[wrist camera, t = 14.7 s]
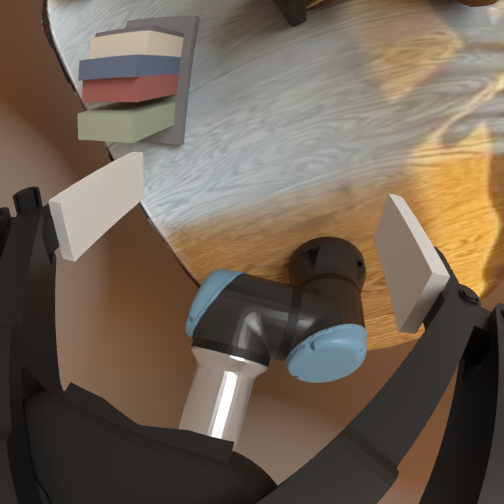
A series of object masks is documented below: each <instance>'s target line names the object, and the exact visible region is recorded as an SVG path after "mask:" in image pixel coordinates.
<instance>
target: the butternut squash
mask: <svg viewBox="0 0 504 504" xmlns="http://www.w3.org/2000/svg"><path fill="white" fill-rule="evenodd" d="M456 1H458V2H460V3H462V4H465V5H468V6H469V7H479V6H487V5H491V4H494V3H496V2H497V1H498V0H456Z"/></svg>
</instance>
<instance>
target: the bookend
mask: <svg viewBox="0 0 504 504" xmlns="http://www.w3.org/2000/svg"><path fill="white" fill-rule="evenodd" d="M273 1H274V2H275V3H276V5H277V6H278V7H279V9H280V10H281V12H282V13H283V15H284V17H285V18H286V20H287V21H288V23H289V24H290V25H291V26H297V25H299V24H302V23H304V22H305V21H306V10H309V9H312V8H315V7H318V6H321V5H324V4H327V3H330V2H333V1H335V0H273Z"/></svg>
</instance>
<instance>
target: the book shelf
mask: <svg viewBox="0 0 504 504" xmlns="http://www.w3.org/2000/svg"><path fill="white" fill-rule="evenodd" d="M198 22H199V17H197V16H177V17H161V18H149V19H140V20H132V21H127V28H126V29H119V30H113V31H106V32H101V33H96V37H94V38H91V43H90V52H89V59H88V60H82V61H80V64H79V80H83V91H82V103H84V102H141V101H159V102H175V103H176V105H175V116H174V125H173V126H170V127H168V128H166V129H163V130H161V131H159V132H157V133H154V134H152V135H150V136H148V137H145V138H143V139H141V140H139V141H147V142H156V143H164V144H172V145H182V144H184V133H185V122H186V111H187V101H188V92H189V84H190V76H191V68H192V61H193V54H194V47H195V40H196V34H197V28H198ZM79 80H78V81H79Z"/></svg>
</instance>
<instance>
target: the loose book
mask: <svg viewBox="0 0 504 504" xmlns="http://www.w3.org/2000/svg"><path fill="white" fill-rule="evenodd" d="M175 105H176V103H175V102H159V101H141V102H117V103H113V104H109V105H106V106H102V107H98V108H95V109H91V110H88V111H85V112H81V113H78V139H79V140H95V141H109V142H121V143H131V144H133V143H135V142H137V141H139V140H141V139H143V138H145V137H148V136H150V135H152V134H154V133H157V132H159V131H161V130H163V129H166V128H168V127H170V126H173V125H174V116H175Z"/></svg>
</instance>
